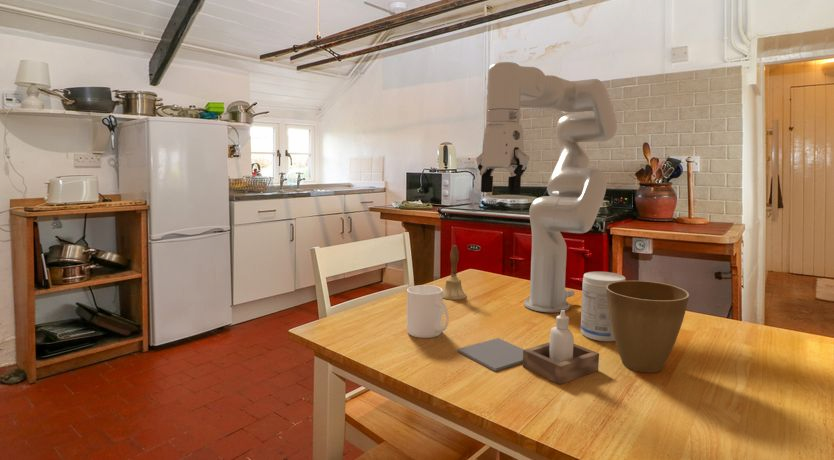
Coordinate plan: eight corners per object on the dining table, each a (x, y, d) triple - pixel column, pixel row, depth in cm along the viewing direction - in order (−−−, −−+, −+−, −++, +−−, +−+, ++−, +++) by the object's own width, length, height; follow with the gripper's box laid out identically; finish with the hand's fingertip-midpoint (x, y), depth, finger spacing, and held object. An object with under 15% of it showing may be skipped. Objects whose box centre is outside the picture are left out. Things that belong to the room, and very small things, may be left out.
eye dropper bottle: (570, 364, 97) (573, 307, 96) (572, 375, 92) (575, 315, 90) (548, 361, 98) (551, 305, 97) (548, 373, 93) (551, 314, 91)
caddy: (560, 354, 102) (561, 338, 102) (598, 370, 94) (599, 353, 94) (522, 366, 96) (523, 350, 96) (559, 384, 88) (560, 366, 88)
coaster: (498, 340, 110) (498, 337, 110) (537, 358, 100) (537, 355, 100) (457, 351, 104) (457, 348, 103) (495, 371, 94) (495, 368, 94)
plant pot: (614, 345, 107) (618, 276, 105) (689, 363, 98) (695, 287, 96) (591, 367, 96) (595, 290, 94) (673, 389, 86) (680, 304, 84)
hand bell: (464, 292, 151) (465, 243, 149) (468, 300, 143) (469, 247, 141) (438, 292, 151) (439, 243, 148) (441, 300, 142) (441, 247, 140)
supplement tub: (603, 326, 120) (606, 269, 118) (632, 340, 111) (636, 278, 109) (571, 331, 116) (574, 272, 114) (598, 345, 108) (602, 281, 105)
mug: (434, 345, 107) (434, 299, 105) (399, 331, 116) (399, 289, 114) (460, 336, 113) (460, 292, 111) (425, 324, 121) (425, 283, 120)
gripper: (542, 117, 104) (538, 195, 107) (491, 123, 119) (488, 191, 121) (516, 114, 101) (513, 195, 103) (467, 120, 115) (465, 191, 117)
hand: (499, 193), depth 112 cm, fingers open, 9 cm apart
